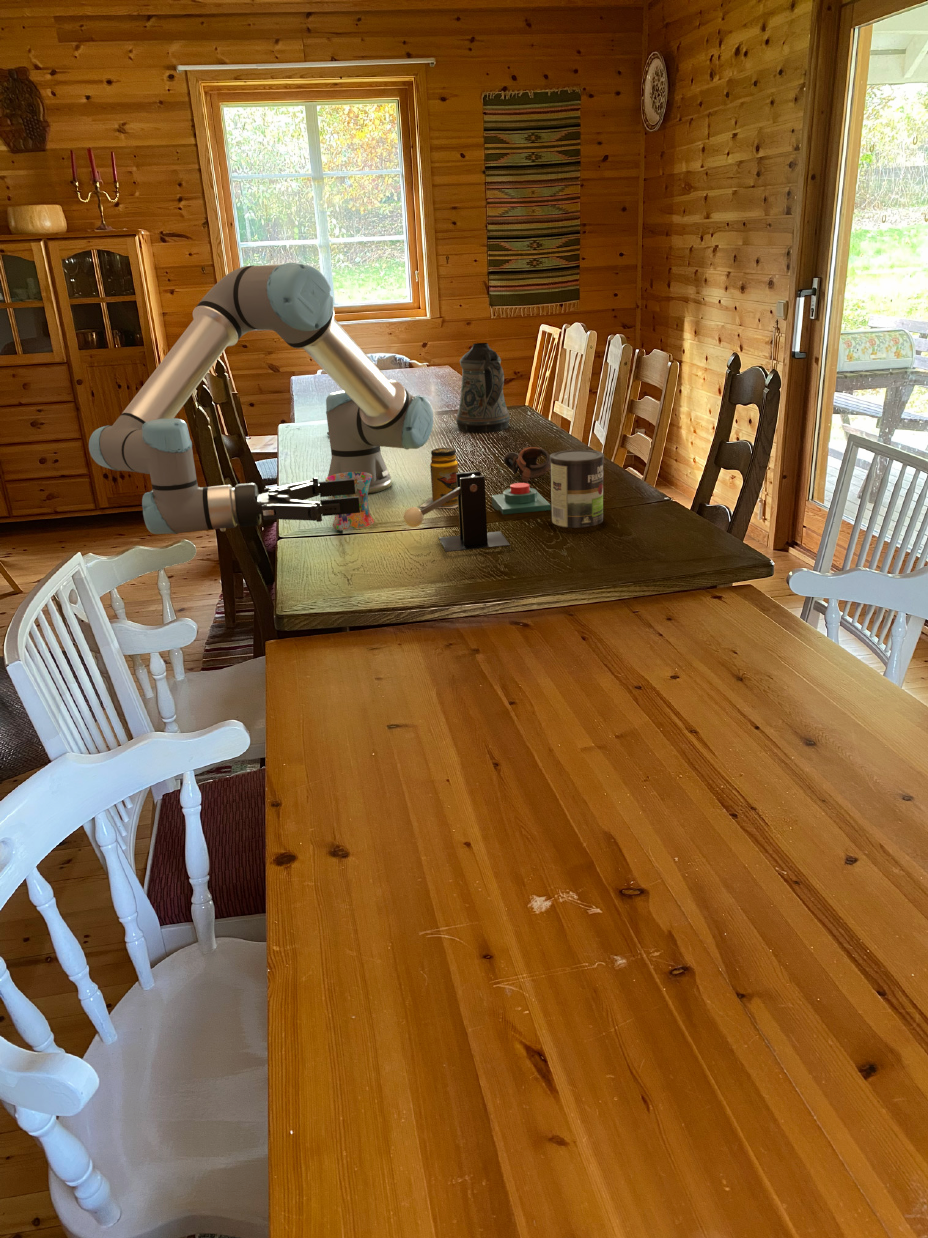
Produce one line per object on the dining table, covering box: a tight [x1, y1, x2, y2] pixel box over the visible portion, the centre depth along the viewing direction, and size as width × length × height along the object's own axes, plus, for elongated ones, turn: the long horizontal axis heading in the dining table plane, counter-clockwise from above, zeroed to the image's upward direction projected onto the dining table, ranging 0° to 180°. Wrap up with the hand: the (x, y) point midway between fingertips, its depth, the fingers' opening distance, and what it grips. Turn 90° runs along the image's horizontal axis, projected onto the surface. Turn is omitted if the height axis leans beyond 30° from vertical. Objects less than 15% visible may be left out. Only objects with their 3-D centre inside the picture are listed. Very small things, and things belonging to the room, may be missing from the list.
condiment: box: [419, 447, 459, 509], centre depth 199 cm, size 7×8×12 cm
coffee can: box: [549, 448, 605, 529], centre depth 178 cm, size 10×10×14 cm
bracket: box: [438, 470, 511, 553], centre depth 169 cm, size 12×9×14 cm
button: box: [509, 482, 531, 494], centre depth 192 cm, size 4×4×2 cm
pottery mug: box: [503, 446, 551, 483], centre depth 218 cm, size 12×10×8 cm
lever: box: [403, 474, 475, 528], centre depth 167 cm, size 15×4×4 cm, turn 100°
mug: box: [324, 472, 375, 532], centre depth 186 cm, size 12×9×11 cm
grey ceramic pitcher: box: [455, 342, 511, 434], centre depth 276 cm, size 16×19×25 cm
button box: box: [491, 487, 552, 516], centre depth 192 cm, size 12×10×4 cm
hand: (357, 495), depth 164 cm, fingers open, 13 cm apart
